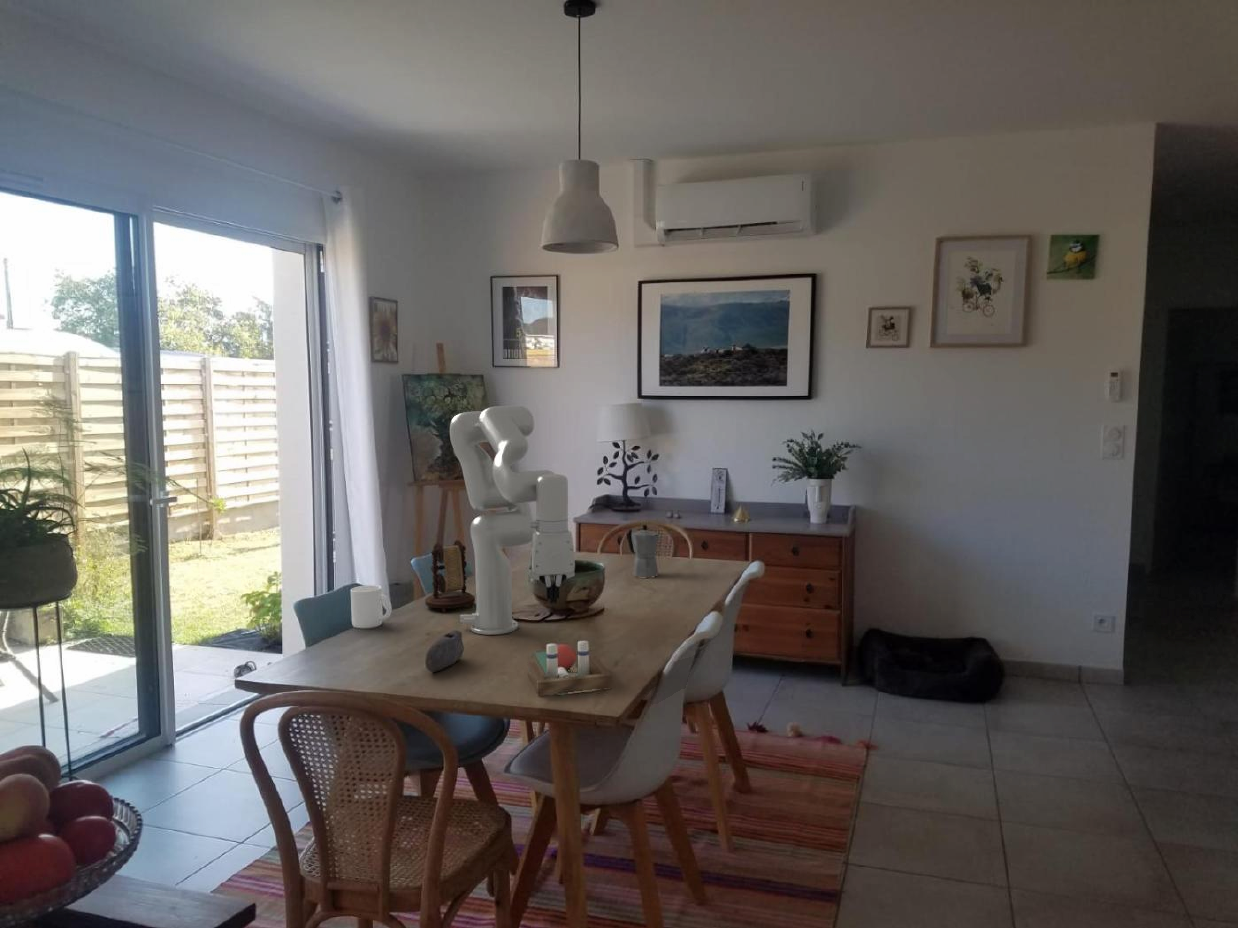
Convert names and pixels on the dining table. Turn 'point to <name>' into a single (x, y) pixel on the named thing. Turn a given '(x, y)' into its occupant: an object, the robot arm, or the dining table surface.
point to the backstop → (571, 680)
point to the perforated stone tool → (444, 651)
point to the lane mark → (543, 661)
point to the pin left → (552, 661)
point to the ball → (566, 656)
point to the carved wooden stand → (449, 578)
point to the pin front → (562, 673)
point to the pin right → (583, 658)
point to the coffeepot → (643, 551)
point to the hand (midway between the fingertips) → (552, 601)
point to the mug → (368, 606)
